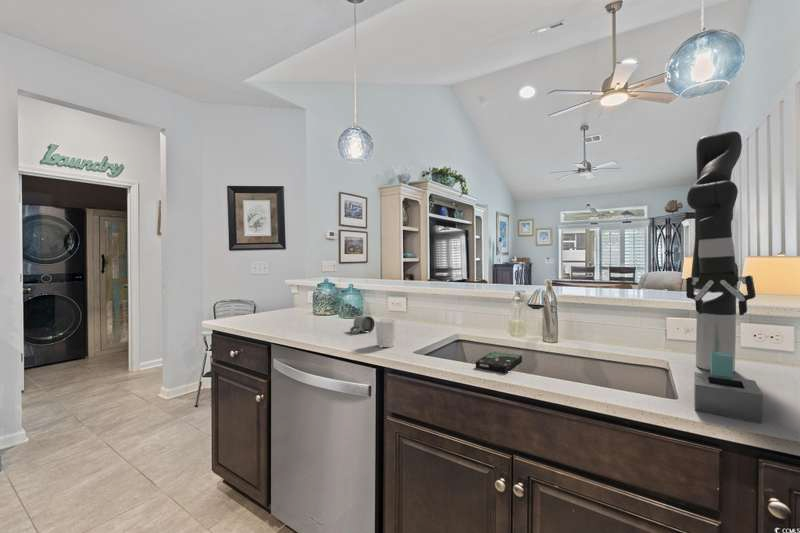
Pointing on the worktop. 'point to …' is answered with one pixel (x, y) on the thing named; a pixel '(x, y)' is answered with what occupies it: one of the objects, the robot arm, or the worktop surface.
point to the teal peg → (722, 364)
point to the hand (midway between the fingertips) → (720, 314)
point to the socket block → (728, 397)
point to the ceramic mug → (363, 324)
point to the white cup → (385, 332)
